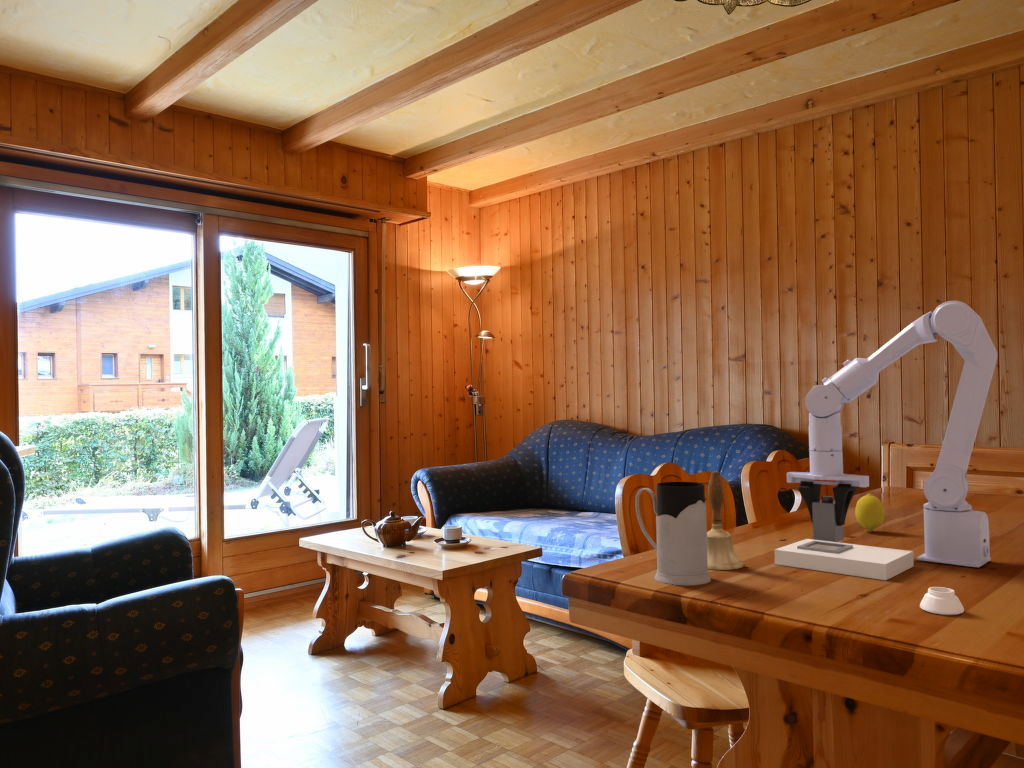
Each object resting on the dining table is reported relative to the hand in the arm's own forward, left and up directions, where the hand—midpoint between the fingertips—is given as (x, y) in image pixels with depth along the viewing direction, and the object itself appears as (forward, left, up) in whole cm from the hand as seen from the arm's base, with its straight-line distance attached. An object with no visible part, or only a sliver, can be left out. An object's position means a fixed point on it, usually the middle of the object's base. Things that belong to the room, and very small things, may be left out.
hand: (827, 523), depth 142 cm
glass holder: (+11, +36, -5) cm, 38 cm away
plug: (0, 0, -3) cm, 3 cm away
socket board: (-7, +11, -5) cm, 14 cm away
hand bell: (+9, +24, -5) cm, 26 cm away
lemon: (+1, -24, -5) cm, 25 cm away
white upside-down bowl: (-27, +30, -5) cm, 41 cm away
